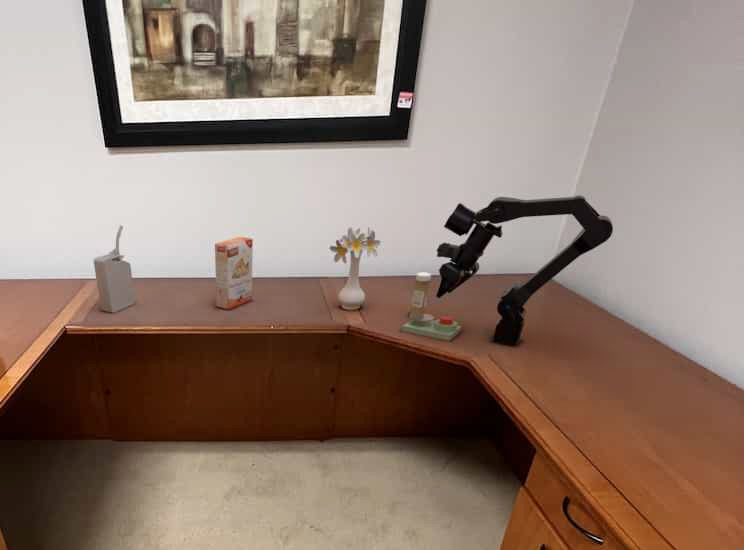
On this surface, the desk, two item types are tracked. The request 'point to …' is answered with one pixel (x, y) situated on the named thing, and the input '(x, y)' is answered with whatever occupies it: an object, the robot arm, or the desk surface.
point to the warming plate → (421, 317)
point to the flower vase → (354, 264)
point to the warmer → (432, 329)
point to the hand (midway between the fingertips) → (443, 294)
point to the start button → (446, 320)
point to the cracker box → (233, 272)
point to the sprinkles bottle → (420, 292)
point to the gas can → (114, 280)
